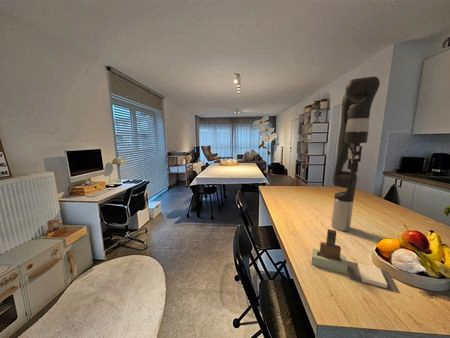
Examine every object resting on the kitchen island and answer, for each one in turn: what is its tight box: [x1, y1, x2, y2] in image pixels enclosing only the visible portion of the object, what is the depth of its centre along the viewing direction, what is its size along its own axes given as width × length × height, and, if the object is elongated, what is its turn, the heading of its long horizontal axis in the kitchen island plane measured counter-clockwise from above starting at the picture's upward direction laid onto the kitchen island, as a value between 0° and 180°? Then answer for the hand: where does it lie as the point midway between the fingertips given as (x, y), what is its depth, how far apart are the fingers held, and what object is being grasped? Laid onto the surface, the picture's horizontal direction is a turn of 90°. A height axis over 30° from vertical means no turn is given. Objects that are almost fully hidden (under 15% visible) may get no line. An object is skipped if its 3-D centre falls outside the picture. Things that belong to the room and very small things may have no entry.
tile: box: [357, 262, 387, 288], centre depth 70 cm, size 2×7×9 cm
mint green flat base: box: [310, 247, 348, 275], centre depth 77 cm, size 7×12×4 cm, turn 64°
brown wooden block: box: [319, 228, 342, 261], centre depth 76 cm, size 2×7×15 cm, turn 64°
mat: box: [347, 260, 401, 294], centre depth 71 cm, size 12×14×1 cm
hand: (352, 170), depth 78 cm, fingers open, 8 cm apart
